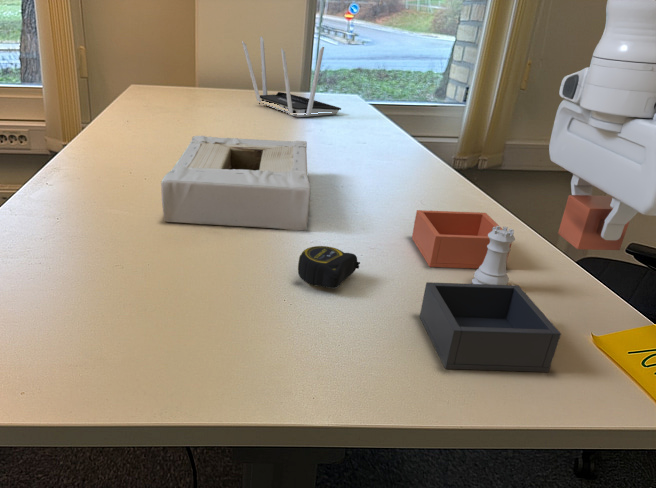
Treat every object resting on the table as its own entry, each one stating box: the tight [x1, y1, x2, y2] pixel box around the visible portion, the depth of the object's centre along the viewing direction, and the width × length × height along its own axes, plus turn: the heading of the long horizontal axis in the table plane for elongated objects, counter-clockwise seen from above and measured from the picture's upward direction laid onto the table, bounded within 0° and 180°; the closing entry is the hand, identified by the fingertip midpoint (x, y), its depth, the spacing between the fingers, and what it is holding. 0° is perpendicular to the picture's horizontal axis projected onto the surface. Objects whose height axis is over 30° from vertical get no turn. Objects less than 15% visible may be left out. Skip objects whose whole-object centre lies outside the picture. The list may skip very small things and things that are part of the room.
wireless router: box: [241, 36, 342, 118], centre depth 177 cm, size 34×23×20 cm
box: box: [160, 135, 311, 231], centre depth 104 cm, size 23×8×32 cm
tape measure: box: [297, 245, 361, 289], centre depth 75 cm, size 7×7×4 cm
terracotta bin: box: [411, 209, 513, 269], centre depth 85 cm, size 11×11×5 cm
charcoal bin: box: [419, 281, 562, 373], centre depth 63 cm, size 11×11×5 cm
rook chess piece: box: [471, 225, 516, 285], centre depth 74 cm, size 4×4×8 cm
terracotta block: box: [557, 194, 631, 251], centre depth 62 cm, size 4×4×4 cm
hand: (592, 227), depth 62 cm, fingers closed on terracotta block, 4 cm apart
